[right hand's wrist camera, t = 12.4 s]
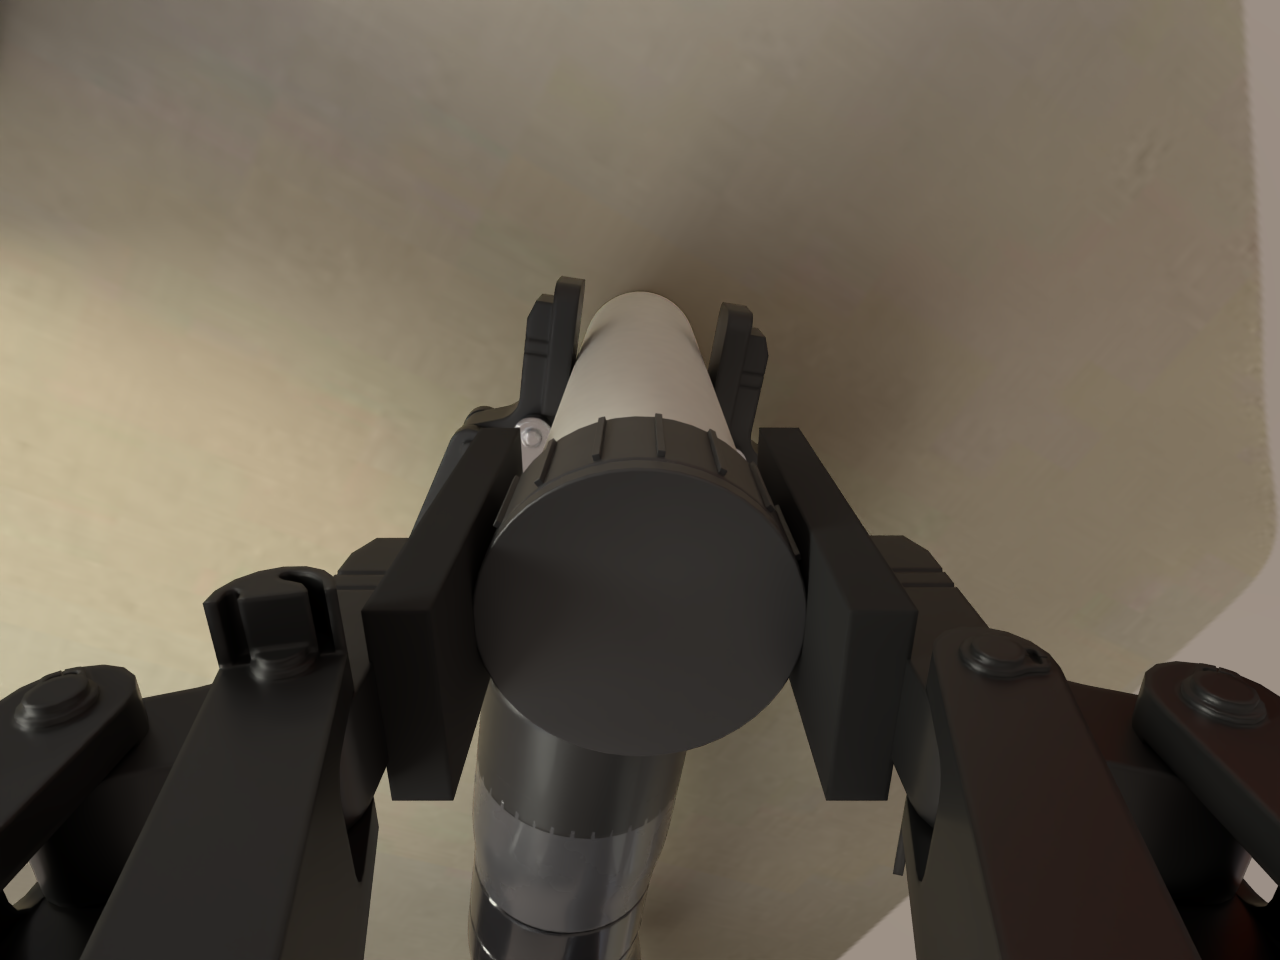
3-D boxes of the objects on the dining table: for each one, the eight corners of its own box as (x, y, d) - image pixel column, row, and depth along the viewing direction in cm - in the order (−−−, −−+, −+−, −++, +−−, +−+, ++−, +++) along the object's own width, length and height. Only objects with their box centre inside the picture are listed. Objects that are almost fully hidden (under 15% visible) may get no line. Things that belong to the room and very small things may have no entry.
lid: (575, 355, 11) (559, 397, 9) (838, 492, 12) (884, 561, 10) (453, 596, 13) (413, 682, 10) (693, 702, 13) (703, 803, 11)
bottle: (616, 270, 26) (574, 422, 9) (714, 324, 27) (840, 555, 10) (566, 369, 28) (451, 658, 11) (661, 418, 29) (693, 760, 12)
